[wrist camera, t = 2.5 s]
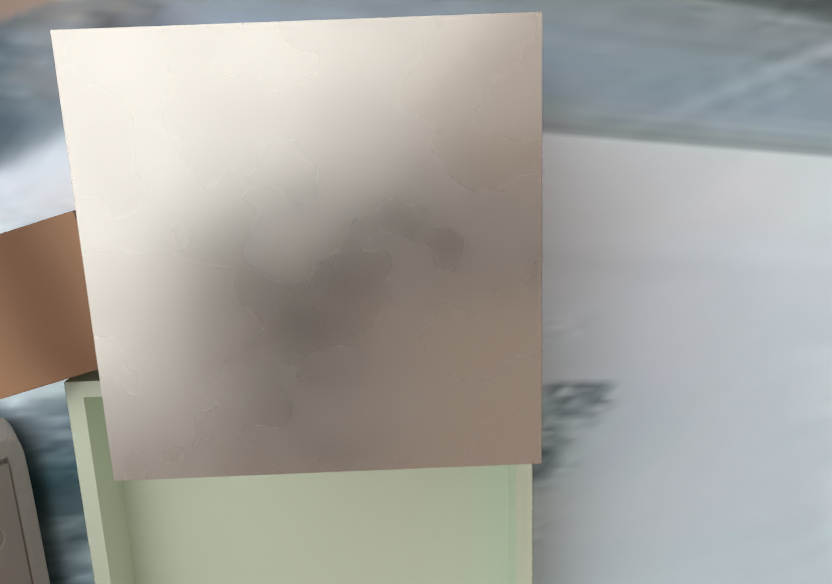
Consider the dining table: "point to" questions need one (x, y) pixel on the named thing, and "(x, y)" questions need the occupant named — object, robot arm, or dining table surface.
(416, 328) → the light grey labelled box
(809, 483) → the dining table surface
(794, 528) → the dining table surface
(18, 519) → the digital clock
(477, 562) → the tray
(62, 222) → the walnut block
